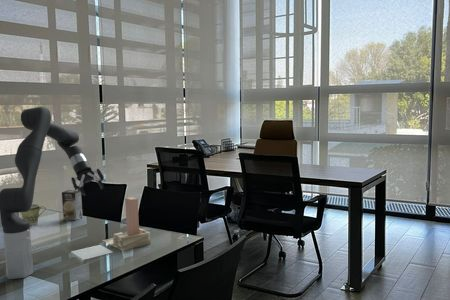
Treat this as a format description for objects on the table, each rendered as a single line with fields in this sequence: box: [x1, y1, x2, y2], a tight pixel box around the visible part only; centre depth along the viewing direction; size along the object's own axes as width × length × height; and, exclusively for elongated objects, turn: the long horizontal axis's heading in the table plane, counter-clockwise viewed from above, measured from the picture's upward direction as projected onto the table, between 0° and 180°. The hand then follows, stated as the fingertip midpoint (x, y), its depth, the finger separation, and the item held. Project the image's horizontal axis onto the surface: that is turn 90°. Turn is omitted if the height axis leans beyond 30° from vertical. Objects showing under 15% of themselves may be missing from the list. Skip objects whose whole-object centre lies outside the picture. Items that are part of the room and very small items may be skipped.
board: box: [124, 196, 140, 236], centre depth 194 cm, size 6×3×20 cm, turn 39°
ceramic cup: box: [20, 203, 46, 226], centre depth 240 cm, size 13×10×10 cm
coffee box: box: [61, 189, 83, 221], centre depth 248 cm, size 9×6×16 cm
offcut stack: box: [112, 232, 128, 248], centre depth 191 cm, size 8×4×4 cm, turn 39°
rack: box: [102, 227, 151, 251], centre depth 196 cm, size 20×14×6 cm
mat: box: [70, 244, 113, 264], centre depth 183 cm, size 14×13×2 cm
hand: (93, 191), depth 205 cm, fingers open, 8 cm apart
